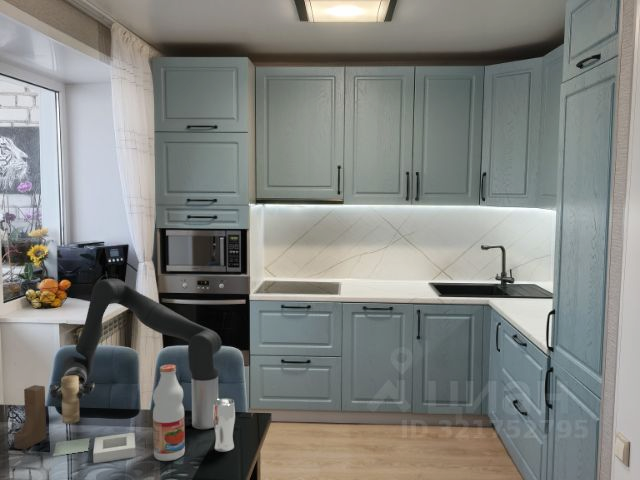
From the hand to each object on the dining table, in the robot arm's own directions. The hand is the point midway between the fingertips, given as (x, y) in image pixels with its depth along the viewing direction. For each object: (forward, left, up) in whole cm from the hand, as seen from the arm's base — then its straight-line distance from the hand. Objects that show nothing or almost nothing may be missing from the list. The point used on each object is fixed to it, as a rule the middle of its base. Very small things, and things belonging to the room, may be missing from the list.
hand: (69, 396), depth 170 cm
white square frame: (-13, +6, -17) cm, 23 cm away
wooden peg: (0, -2, -8) cm, 9 cm away
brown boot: (+13, -10, -18) cm, 24 cm away
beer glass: (-46, +15, -18) cm, 52 cm away
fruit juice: (-29, +14, -18) cm, 37 cm away
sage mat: (0, -2, -17) cm, 18 cm away
